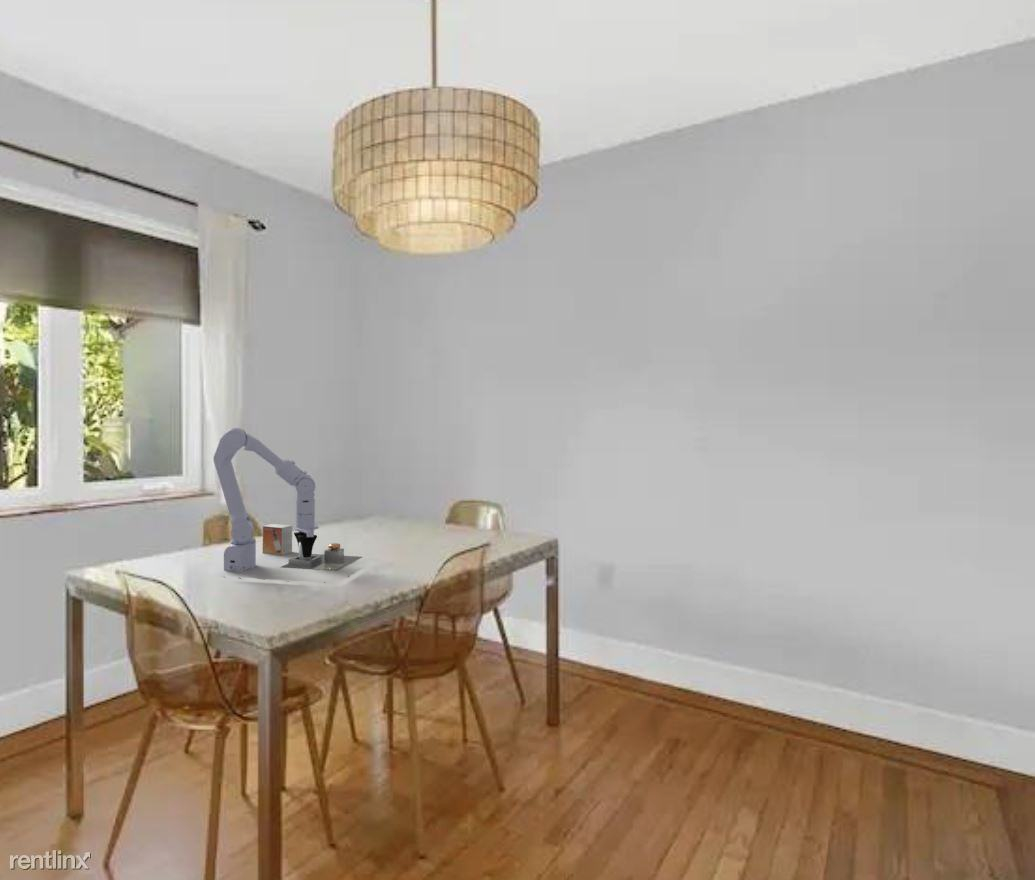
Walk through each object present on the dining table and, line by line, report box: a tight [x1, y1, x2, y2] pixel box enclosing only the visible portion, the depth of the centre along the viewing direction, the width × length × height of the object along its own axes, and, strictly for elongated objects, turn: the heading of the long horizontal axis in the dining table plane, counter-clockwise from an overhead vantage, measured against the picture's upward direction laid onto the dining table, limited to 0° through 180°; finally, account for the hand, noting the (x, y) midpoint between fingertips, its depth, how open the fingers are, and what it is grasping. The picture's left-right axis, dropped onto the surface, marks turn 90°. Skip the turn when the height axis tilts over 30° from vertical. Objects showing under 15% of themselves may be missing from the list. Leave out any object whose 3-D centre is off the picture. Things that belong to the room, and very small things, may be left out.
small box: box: [262, 523, 293, 556], centre depth 220 cm, size 8×6×10 cm
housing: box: [280, 547, 363, 572], centre depth 207 cm, size 19×19×4 cm
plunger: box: [327, 542, 341, 551], centre depth 211 cm, size 4×4×4 cm
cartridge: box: [298, 542, 313, 560], centre depth 206 cm, size 4×4×7 cm
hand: (305, 555), depth 206 cm, fingers closed on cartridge, 4 cm apart
